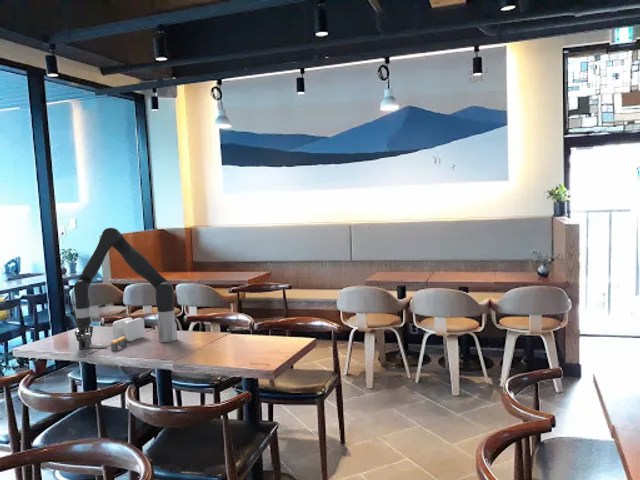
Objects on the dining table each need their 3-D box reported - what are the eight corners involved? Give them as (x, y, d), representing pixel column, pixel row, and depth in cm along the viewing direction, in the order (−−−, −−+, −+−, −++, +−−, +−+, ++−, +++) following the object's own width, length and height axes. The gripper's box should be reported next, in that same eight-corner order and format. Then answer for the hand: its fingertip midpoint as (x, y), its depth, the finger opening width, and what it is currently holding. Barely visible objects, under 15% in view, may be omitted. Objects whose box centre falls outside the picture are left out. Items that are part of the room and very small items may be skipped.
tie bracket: (126, 345, 290) (126, 336, 290) (115, 350, 279) (115, 342, 279) (122, 345, 290) (122, 336, 290) (111, 350, 279) (110, 342, 279)
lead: (108, 346, 288) (107, 336, 287) (104, 348, 284) (103, 337, 283) (83, 346, 290) (82, 336, 290) (79, 348, 286) (78, 337, 286)
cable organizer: (127, 343, 295) (125, 322, 295) (112, 341, 299) (111, 321, 298) (145, 336, 309) (144, 317, 308) (131, 335, 313) (129, 316, 312)
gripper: (81, 318, 279) (84, 350, 280) (97, 313, 293) (98, 343, 294) (69, 318, 280) (71, 350, 281) (84, 313, 294) (86, 343, 295)
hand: (85, 346), depth 288 cm, fingers closed on lead, 4 cm apart
